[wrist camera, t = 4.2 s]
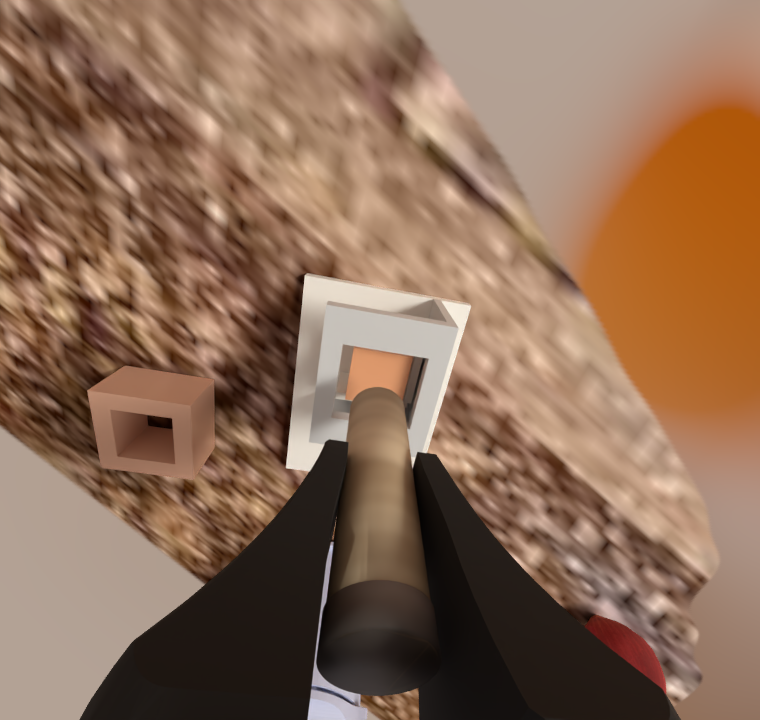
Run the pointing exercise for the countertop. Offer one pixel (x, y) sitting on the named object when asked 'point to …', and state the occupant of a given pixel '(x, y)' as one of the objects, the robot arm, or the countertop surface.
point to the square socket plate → (373, 331)
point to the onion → (628, 647)
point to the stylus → (378, 562)
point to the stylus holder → (148, 443)
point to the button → (377, 371)
